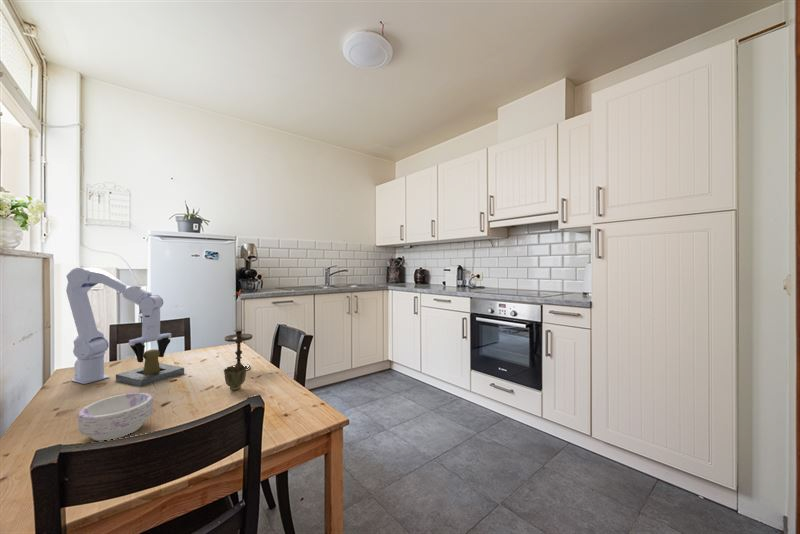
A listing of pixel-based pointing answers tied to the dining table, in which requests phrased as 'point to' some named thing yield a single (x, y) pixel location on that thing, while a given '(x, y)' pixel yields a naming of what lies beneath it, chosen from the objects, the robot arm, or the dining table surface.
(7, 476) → the dining table surface
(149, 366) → the olive tapered cylinder
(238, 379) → the cup
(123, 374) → the plate
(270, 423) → the dining table surface
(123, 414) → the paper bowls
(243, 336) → the candlestick
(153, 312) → the robot arm
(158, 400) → the dining table surface
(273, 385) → the dining table surface
